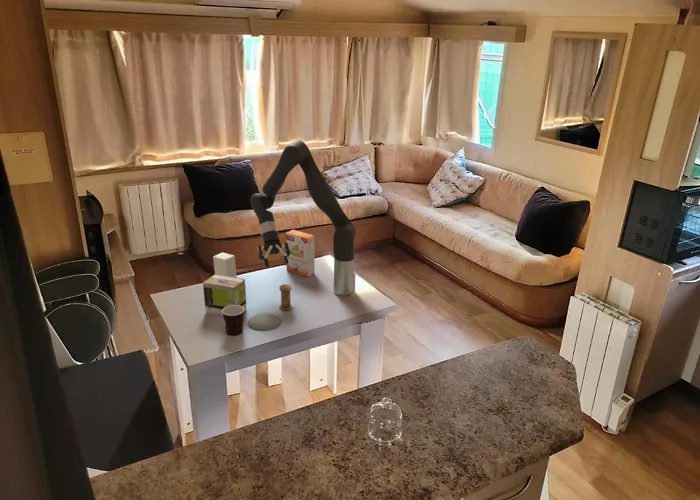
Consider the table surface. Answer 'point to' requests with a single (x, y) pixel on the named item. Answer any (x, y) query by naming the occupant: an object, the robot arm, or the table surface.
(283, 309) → the wooden turned knob
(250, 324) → the felt mat
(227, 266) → the skincare box
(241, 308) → the coffee mug
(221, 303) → the tea box
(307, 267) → the cracker box
